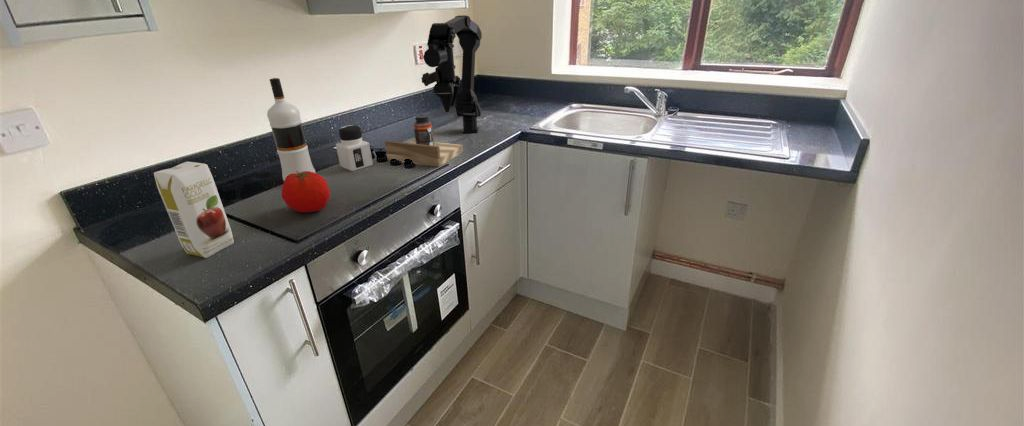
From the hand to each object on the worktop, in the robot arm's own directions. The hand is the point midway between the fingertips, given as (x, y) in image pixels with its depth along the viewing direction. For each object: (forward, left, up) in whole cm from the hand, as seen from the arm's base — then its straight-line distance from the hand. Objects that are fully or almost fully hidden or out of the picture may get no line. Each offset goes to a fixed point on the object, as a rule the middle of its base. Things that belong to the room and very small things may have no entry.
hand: (449, 109), depth 157 cm
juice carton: (+75, -41, -13) cm, 86 cm away
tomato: (+55, -28, -13) cm, 63 cm away
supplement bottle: (+13, -7, -11) cm, 18 cm away
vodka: (+34, -41, -13) cm, 55 cm away
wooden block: (+13, -7, -13) cm, 20 cm away
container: (+22, -28, -13) cm, 38 cm away
